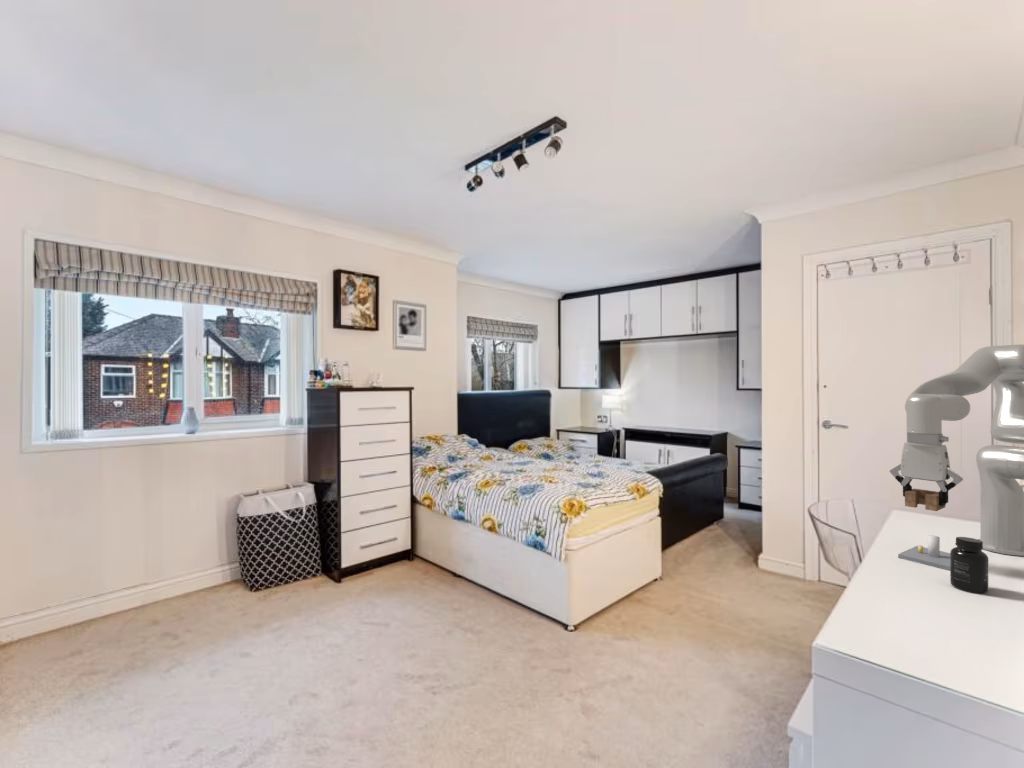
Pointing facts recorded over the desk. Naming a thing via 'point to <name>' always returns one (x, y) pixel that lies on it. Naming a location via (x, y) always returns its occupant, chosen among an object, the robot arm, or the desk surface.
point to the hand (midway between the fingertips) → (925, 501)
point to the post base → (927, 558)
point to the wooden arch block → (923, 499)
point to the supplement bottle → (969, 566)
